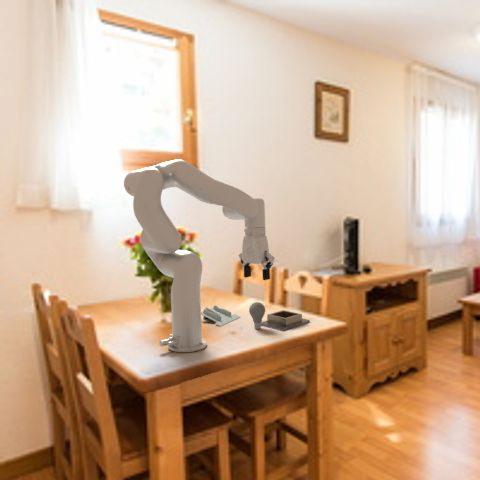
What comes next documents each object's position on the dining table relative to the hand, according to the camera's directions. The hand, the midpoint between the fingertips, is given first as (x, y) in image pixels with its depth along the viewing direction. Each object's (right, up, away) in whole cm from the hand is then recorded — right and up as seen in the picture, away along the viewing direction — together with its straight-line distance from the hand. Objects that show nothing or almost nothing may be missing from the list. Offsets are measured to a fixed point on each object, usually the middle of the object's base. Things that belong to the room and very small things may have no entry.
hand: (256, 278), depth 152 cm
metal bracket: (-15, -19, +15) cm, 28 cm away
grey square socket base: (+11, -18, +7) cm, 23 cm away
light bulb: (0, -19, +1) cm, 19 cm away
